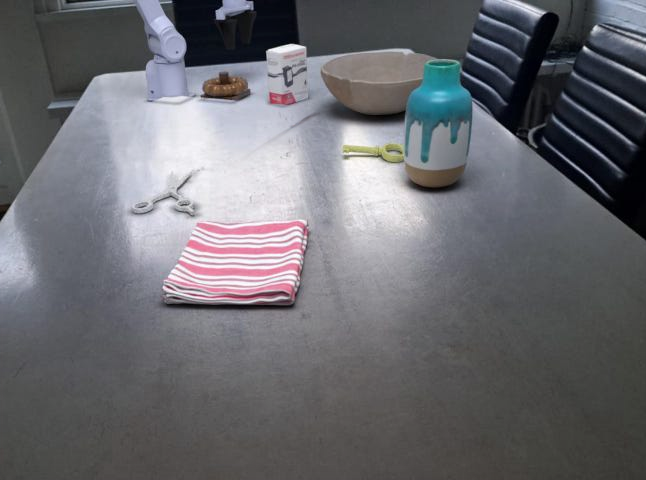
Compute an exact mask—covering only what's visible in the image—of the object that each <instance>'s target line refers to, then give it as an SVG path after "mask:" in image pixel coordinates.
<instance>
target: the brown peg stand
mask: <svg viewBox="0 0 646 480" xmlns="http://www.w3.org/2000/svg"><path fill="white" fill-rule="evenodd" d="M229 76H230V75H229V71H219V72H218V77H219V81H220V85H229V84H230V82H229ZM251 94H252V92H251V88H248V89H247V91H245V92H243V93H241V94H239V95H234V96H226V97H216V96H209V95H207V94H205V93H204V92H203V93H202V94H200V95H199V97H200V98H202V99H213V100H223V101H224V100H225V101H239V100H241V99H243V98H246V97H247V96H249V95H251Z"/></svg>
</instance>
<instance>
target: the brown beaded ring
mask: <svg viewBox="0 0 646 480" xmlns="http://www.w3.org/2000/svg"><path fill="white" fill-rule="evenodd" d="M229 82H230V84H229V85H220V81H219V76H217V77H213V78H209V79H207V80H205V81H203V84H202V86H201V90H202V92H203V94H204V93H205V94H207V95H209V96H216V97H226V96H234V95H239V94H241V93H243V92H245V91H247V89H249V81H248V80H247V79H246V78H243V77H241V76H235V75H234V76H233V75H231V76H230V75H229Z"/></svg>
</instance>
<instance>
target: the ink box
mask: <svg viewBox="0 0 646 480" xmlns="http://www.w3.org/2000/svg"><path fill="white" fill-rule="evenodd" d="M265 53H266V67H267V68H266V69H267V83H268V95H269V103H270V104H271V105H272V104H273V105H282V106H288V105H291V104H295V103H298V102H302V101H304V100H308V99H309V90H308V89H309V88H308V57H307V54H308V53H307V46H304V45H301V44H300V45H299V44H295V43H289V44H284V45H280V46H276V47H273V48H269V49H267V50H266V51H265Z"/></svg>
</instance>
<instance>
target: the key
mask: <svg viewBox="0 0 646 480" xmlns="http://www.w3.org/2000/svg"><path fill="white" fill-rule="evenodd" d="M388 151H397V152H399V153H401V154H393V153H389V152H388ZM342 153H343V154H345V153H346V154H350V153H354V154H355V153H357V154H369V155H374V156H375V157H378V156H379V155H380V156H381V158H382V159H384V161H387V162H390V163H391V162H392V163H400V162H404V145H402V144H399V143H395V142H388V143H385V144H383V145H382V147H380V146H379V145H376V146H363V145H353V144H352V145H351V144H342Z"/></svg>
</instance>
